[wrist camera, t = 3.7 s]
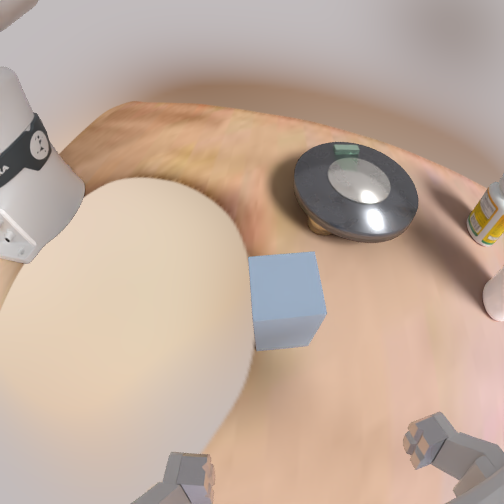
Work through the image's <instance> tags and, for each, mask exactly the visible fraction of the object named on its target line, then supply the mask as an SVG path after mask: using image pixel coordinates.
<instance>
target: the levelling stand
mask: <svg viewBox="0 0 504 504" xmlns="http://www.w3.org/2000/svg"><path fill="white" fill-rule="evenodd" d="M294 193H295V196H296V199H297V201H298V203H299V205H300V206H301V208H302V209H303V211H304V212H305V213H306V214H307V215H308V222H307V223H308V227H309V228H310V230H311V231H313V232H314V233H316V234H318V235H330V234H332V233H333V234H335V235H337V236H340V237H342V238H345V239H348V240H352V241H357V242H365V243H378V242H384V241H388V240H391V239H393V238H395V237H398V236H399V235H400V234H402V233H403V232H404V231H405V230H406V229H407V228H408V226H409V225H410V223H411V221H412V220H413V218H414V216H415V214H416V212H417V208H418V195H417V191H416V188H415V185H414V183H413V181H412V180H411V178H410V177H409V175H408V174H407V173H406V172H405V170H404V169H403V168H402V167H401V166H400V165H399V164H397V163H396V162H395V161H394V160H392V159H391V158H389V157H388V156H386V155H385V154H383V153H381V152H379V151H377V150H375V149H372V148H370V147H366V146H363V145H359V144H355V143H348V142H332V143H326V144H321V145H318V146H315V147H313V148H311V149H310V150H308V151H307V152H305V153H304V154H303V155H302V156H301V157H300V159H299V160H298V162H297V164H296V167H295V173H294Z"/></svg>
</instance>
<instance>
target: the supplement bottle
mask: <svg viewBox="0 0 504 504" xmlns="http://www.w3.org/2000/svg"><path fill="white" fill-rule="evenodd" d="M467 228H468V231H469V233H470V235H471V236H472V238H473V239H474V240H475V241H476V242H477V243H479V244H480V245H482V246H486V247H489V246H491V245H493V244H494V243H495V241H496V240H497V239H498V238H499V237H500V236H501V235H502V233H503V232H504V174H503V175H502V177H501V178H500V181H499V182H494V183H492V184H491V185H490V186H489V187H488V189H487V190H486V192H485V193H484V195H483V196H482V198H481V199H480V201H479V202H478V204H477V205H476V207H475V208H474V209H473V211H472V212H471V214H470V215H469V216H468V218H467Z"/></svg>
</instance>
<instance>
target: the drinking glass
mask: <svg viewBox="0 0 504 504" xmlns="http://www.w3.org/2000/svg"><path fill="white" fill-rule="evenodd" d="M483 303H484V306H485V309H486V311H487V313H488V314H489V315H490V317H491V318H493V319H494V320H496V321H504V265H503V267H502V268H501V269H500V270H499V271H498V272H497V273H496V274H495V275H494V276H493V277H492V278H491V279H490V280H489V281H488V282H487V283H486V285H485V286H484V289H483Z"/></svg>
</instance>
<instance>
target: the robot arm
mask: <svg viewBox="0 0 504 504" xmlns="http://www.w3.org/2000/svg"><path fill="white" fill-rule="evenodd" d="M37 2H38V0H0V32H1V31H3V30H4V29H6V28H7V27H8V26H10V25H11V24H12V23H14V22H15V21H16V20H17V19H19V18H20V17H21V16H23V15H24V14H25V13H26V12H28V11H29V10H30V9H32V8H33V7H34V6H35V5H36V4H37ZM84 192H85V186H84V182H83V181H82V179H81V178H80V177H78V176H77V175H76V174H75V173H74V172H73V171H72V169H71V167H70V166H69V165H68V164H66V163H65V162H64V160H63V159H62V158H61V156H60V155H59V154H58V152H57V151H56V150H55V148H54V147H53V146H52V144H51V143H50V141H49V139H48V135H47V132H46V130H45V128H44V126H43V124H42V121H41V119H40V118H39V116H38V115H37V113H33V111H32V109H31V107H30V105H29V102H28V100H27V98H26V96H25V93H24V91H23V89H22V87H21V84H20V82H19V79H18V77H17V75H16V73H15V72H14V71H13V70H11V69H9V68H7V67H0V258H2V259H7V260H11V261H16V262H20V263H25V264H28V263H30V262H31V261H32V260H33V259H34V258H35V257H36V255H37V254H38V253H39V251H40V250H41V249H42V248H43V247H44V246H45V245H46V244H47V243H48V242H50V241H51V240H52V239H53V238H55V237H56V236H57V235H58V234H59V233H60V232H61V231H62V230H63V229H64V228H65V227H66V226H67V225H68V223H69V222H70V221H71V220H72V218H73V217H74V215H75V214H76V212H77V211H78V208H79V207H80V205H81V202H82V200H83V197H84ZM408 430H409V431H408V432H407V433H406V434H405V436H404V439H403V446H404V449H405V451H406V453H407V454H410V455H411V458H410V461H411V463H412V464H413V466H414V468H415V470H417V469H419V468H422V467H424V466H427V465H429V464H432V465H433V466H435V467H437V468H439V469H440V470H442V471H444V472H446V473H447V474H449V475H451V476H453V477H454V478H456V479H458V480H460V481H459V482H458V483H457V484H456V486H455V487H454V489H453V491H454V493H455V495H456V498H454V499H453V500H451V501H449V502H447V503H445V504H504V452H503V451H502V450H501V448H500V447H499V446H498V445H497V444H493V443H490V442H487V441H484V440H481V439H478V438H475V437H472V436H470V435H467V434H464V433H461V432H460V433H457V431H456V430H455V429H454V427H453V426H452V425H451V424H450V422H449V421H448V420H447V418H446V417H445V416H444V415H443V413H441V412H437V413H435V414H432V415H430V416H427V417H424V418H422V419H419V420H416V421H414V422H411V423H410V424H409V426H408ZM214 484H215V469H214V465H213V464H211V457H210V454H191V453H190V454H189V453H179V452H171V453H170V455H169V458H168V462H167V466H166V470H165V474H164V478H163V482H159V483H157V484H156V485H155V486H154V487H152V488H151V489H150V490H148V491H147V492H146V493H144V494H143V495H142V496H141V497H139V498H138V499H136V500H135V501H134V502H132V503H131V504H213V499H214V491H213V489H212V486H213V485H214Z"/></svg>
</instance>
